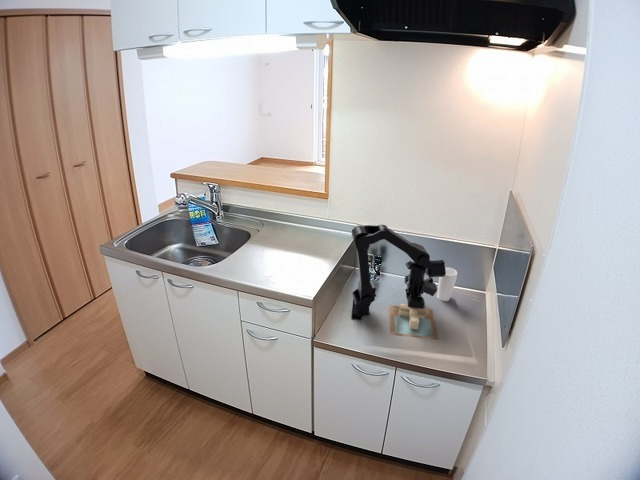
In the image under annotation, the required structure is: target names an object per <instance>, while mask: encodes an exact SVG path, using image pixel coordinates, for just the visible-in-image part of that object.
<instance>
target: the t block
mask: <svg viewBox="0 0 640 480" xmlns="http://www.w3.org/2000/svg"><path fill="white" fill-rule="evenodd" d="M399 306H400V308H399V316H404V317H408V319H409V326H410V329H418V325H419V318H425V314H426V309H427V308H426V305H425V306H424V308H423V309H422V308H411V307H408V304H406V303H399Z"/></svg>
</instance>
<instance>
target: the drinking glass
mask: <svg viewBox="0 0 640 480" xmlns="http://www.w3.org/2000/svg"><path fill="white" fill-rule="evenodd" d="M445 271H446V274H445V276H444V277H438V285H437V292H436V293H437V294H436V296H437V299H438V300H440V301H442V302H448V301H450V299H451V296H452V294H453V289H454V287H455V284H456V281H457V276H458V271H457V270H456V269H455V268H453V267H447V266H445Z"/></svg>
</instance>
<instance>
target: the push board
mask: <svg viewBox="0 0 640 480" xmlns="http://www.w3.org/2000/svg"><path fill="white" fill-rule="evenodd" d="M399 308H400V305H391V304H388V314H389V315H388V316H389V318H388V319H389V320H388V321H389V335H392V336H400V337H410V338H411V337H412V338H419V339H429V340H438V341H439V340H440V339H439V338H440V337H439V334H438V330H437V324H436V320H435V316H434V310H433V309H431V308H426V314H425V318H419V325H418V329H410V326H409V319H408V317H404V316H399Z"/></svg>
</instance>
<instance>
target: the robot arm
mask: <svg viewBox="0 0 640 480" xmlns="http://www.w3.org/2000/svg"><path fill="white" fill-rule="evenodd" d="M351 237H352V239H353V242H354V246H355V249H356V256H357V263H358V264H357V266H358V273H359V274H358V275H359V281H358V285H357V286H358V287H357V288H356V289H355V290H354V291H353V292H351V295H352V306H351V307H352V308H351V317H350V318H351V319H352V320H363V317H364V316H369V315H370V306H371V304H372V303H373V302H374V301H376V297H377V293H376V290H377V289H376V285H375V282H374V280H373V279H371V275H370V266H369V265H370V263H369V254H368V253H369V249H370V245H374V244H376V243H377V242H379V241H382V240H384V241H387V242H388V243H389V244H391V245H393V246H394V247H396V248H397V249H399V250H401V251H402V252H404V253H405V254H406V255H407V256H408V257H409V258H410V259H411V260H409V261H407V262H406V263H405V266H406V268H407V269H408V270H409V273H408V274H407V275H405V276H404V285H406V288H405V290H404V291H405V294H406V300H407V302H406V303H407V304H408V307H411V308H422V309H423V308H424V306H425V307H426V303H425V299H424V297H423V296H422V295H424V293H425V294H428V295H430V297H434V296H435V294H436V293H437V292H438V285H436V283H435V282H434V278H439V277H444V276H445V274H446V271H445V267H446V266H445V264H446V262H445V261H444V260H443V259H437V260H431V259H430V257H431V256H430V254H429V253H428V251H427V250H426V248H425V247H424V246H423V245H421V244H419V243H416V242H410V240H408V239H406V238H405V237H403V236H401V235H400V234H398V233H397V232H395V231H394V230H392V229H390V228H389V227H388V226H387V225H385V224H378V225H375V224H374V225H372V224H366V225H356V226H355V227H353V228H352V229H351ZM425 275H426V276H428V278H426V279H424V278H425Z"/></svg>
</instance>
